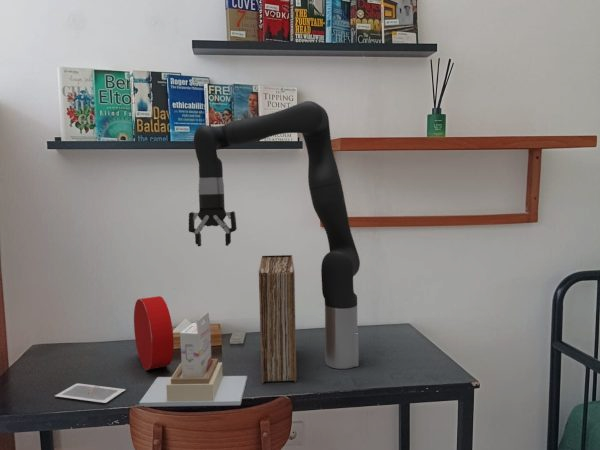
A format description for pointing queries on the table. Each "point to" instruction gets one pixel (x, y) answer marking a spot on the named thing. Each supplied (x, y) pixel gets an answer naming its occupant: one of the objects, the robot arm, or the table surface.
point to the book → (277, 318)
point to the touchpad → (90, 393)
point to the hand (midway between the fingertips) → (213, 245)
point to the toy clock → (153, 332)
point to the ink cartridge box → (196, 348)
